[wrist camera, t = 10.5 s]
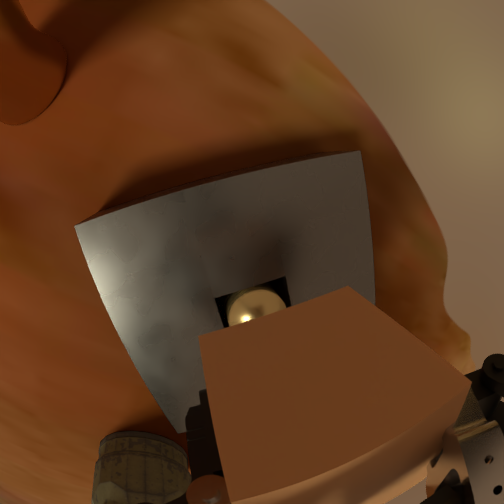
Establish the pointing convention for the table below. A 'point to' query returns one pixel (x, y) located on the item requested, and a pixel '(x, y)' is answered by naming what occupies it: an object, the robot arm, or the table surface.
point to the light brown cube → (326, 403)
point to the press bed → (225, 258)
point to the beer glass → (27, 66)
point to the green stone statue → (139, 469)
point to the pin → (251, 303)
